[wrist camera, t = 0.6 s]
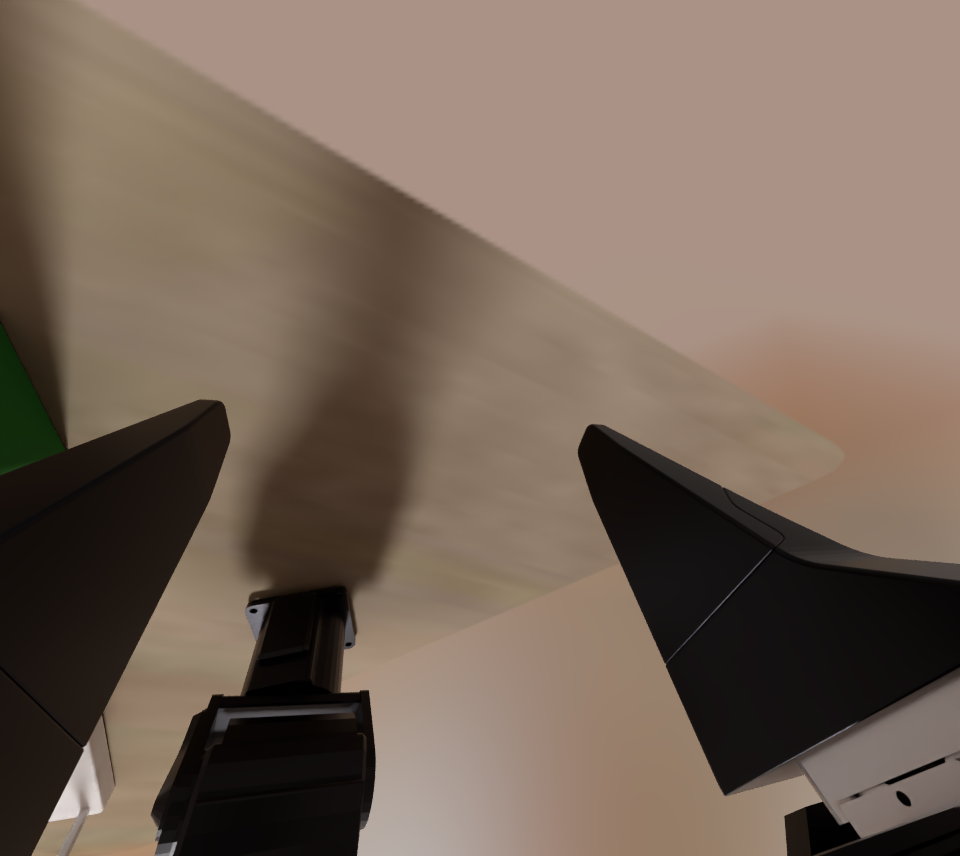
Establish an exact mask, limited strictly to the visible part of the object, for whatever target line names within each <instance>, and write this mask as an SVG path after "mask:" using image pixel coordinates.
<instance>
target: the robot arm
mask: <svg viewBox="0 0 960 856" xmlns="http://www.w3.org/2000/svg"><path fill="white" fill-rule="evenodd" d="M229 443H230V428H229V424H228V419H227V414H226V409H225V406H224V404H223V403H222V402H221V401H218V400H197V401H194V402H192V403H189V404H186V405H184V406H181V407H178V408H176V409H173V410H170V411H168V412H165V413H163V414H160V415H157V416H155V417H152V418H149V419H147V420H144V421H141V422H139V423H136V424H134V425H131V426H128V427H126V428H123V429H120V430H118V431H115V432H113V433H110V434H107V435H105V436H102V437H99V438H97V439H94V440H91V441H89V442H86V443H84V444H81V445H78V446H76V447H73V448H70V449H68V450H65V451H62V452H60V453H57V454H55V455H52V456H49V457H47V458H44V459H41V460H39V461H36V462H33V463H31V464H28V465H26V466H23V467H20V468H18V469H15V470H12V471H10V472H7V473H4V474H2V475H0V856H31V855H32V853H33V851H34V849H35V847H36V845H37V843H38V841H39V839H40V837H41V835H42V833H43V831H44V829H45V827H46V825H47V823H48V821H49V819H50V817H51V815H52V813H53V811H54V809H55V807H56V805H57V803H58V801H59V800H60V798H61V796H62V794H63V792H64V790H65V788H66V786H67V784H68V782H69V780H70V778H71V776H72V774H73V772H74V770H75V768H76V766H77V764H78V762H79V760H80V758H81V756H82V754H83V752H84V749H83V747H85V746H86V745H87V743H88V741H89V739H90V737H91V735H92V733H93V731H94V729H95V727H96V725H97V723H98V721H99V719H100V717H101V715H102V713H103V711H104V709H105V707H106V705H107V703H108V701H109V699H110V697H111V695H112V693H113V692H114V690H115V688H116V686H117V684H118V682H119V680H120V678H121V676H122V674H123V672H124V670H125V668H126V666H127V664H128V662H129V660H130V658H131V656H132V654H133V652H134V650H135V648H136V646H137V644H138V642H139V640H140V638H141V636H142V634H143V632H144V630H145V628H146V626H147V624H148V622H149V620H150V618H151V616H152V614H153V612H154V610H155V608H156V606H157V604H158V602H159V600H160V598H161V596H162V594H163V592H164V590H165V588H166V586H167V584H168V582H169V580H170V578H171V576H172V574H173V572H174V570H175V568H176V566H177V565H178V563H179V561H180V559H181V557H182V555H183V553H184V551H185V549H186V547H187V545H188V543H189V541H190V539H191V537H192V535H193V533H194V531H195V529H196V527H197V525H198V523H199V521H200V519H201V517H202V515H203V513H204V511H205V509H206V507H207V505H208V502H209V500H210V498H211V495H212V493H213V490H214V487H215V484H216V481H217V478H218V475H219V472H220V469H221V467H222V464H223V461H224V458H225V455H226V452H227V449H228V446H229ZM578 457H579V460H580V463H581V466H582V469H583V472H584V476H585V479H586V482H587V485H588V488H589V491H590V494H591V497H592V500H593V502H594V505H595V507H596V509H597V512H598V514H599V516H600V518H601V521H602V523H603V525H604V527H605V530H606V532H607V534H608V537H609V539H610V541H611V543H612V546H613V548H614V550H615V552H616V555H617V557H618V559H619V561H620V564H621V566H622V568H623V570H624V572H625V575H626V577H627V579H628V581H629V584H630V586H631V588H632V590H633V593H634V595H635V597H636V600H637V602H638V604H639V606H640V608H641V611H642V613H643V615H644V617H645V620H646V622H647V624H648V627H649V629H650V631H651V633H652V636H653V638H654V640H655V642H656V645H657V647H658V649H659V651H660V654H661V656H662V658H663V661H664V663H665V664H666V668H667V670H668V672H669V674H670V677H671V679H672V681H673V684H674V686H675V688H676V690H677V693H678V695H679V697H680V699H681V702H682V704H683V706H684V708H685V711H686V713H687V715H688V718H689V720H690V722H691V724H692V726H693V729H694V731H695V733H696V736H697V738H698V740H699V742H700V744H701V747H702V749H703V751H704V754H705V756H706V758H707V760H708V763H709V765H710V767H711V769H712V772H713V774H714V776H715V778H716V781H717V783H718V785H719V787H720V789H721V790H722V792H723V794H724V795H725V796H729V795H732V794H736V793H740V792H743V791H747V790H750V789H754V788H758V787H762V786H765V785H769V784H772V783H776V782H780V781H783V780H787V779H791V778H794V777H798V776H801V775H805V776H806V778H807V779H808V781H809V782H810V783H811V785H812V786H813V788H814V789H815V791H816V792H817V794H818V795H819V797H820V798H821V799H822V801H823V802H820V803H817V804H814V805H810V806H808V807H804V808H802V809H800V810H797V811H795V812H793V813H791V814H788V815H786V816H785V829H786V843H787V856H960V564H953V563H941V562H929V561H918V560H905V559H894V558H885V557H879V556H874V555H870V554H867V553H863V552H860V551H857V550H854V549H851V548H849V547H847V546H844V545H842V544H840V543H837V542H835V541H833V540H831V539H829V538H827V537H825V536H823V535H821V534H818V533H816V532H814V531H812V530H810V529H808V528H806V527H804V526H801V525H799V524H797V523H795V522H793V521H791V520H789V519H786V518H784V517H782V516H780V515H778V514H776V513H774V512H772V511H770V510H768V509H766V508H764V507H762V506H760V505H758V504H756V503H754V502H752V501H750V500H748V499H746V498H744V497H742V496H740V495H738V494H736V493H734V492H732V491H730V490H728V489H726V488H722V487H721V486H720V485H719V484H717V483H715V482H713V481H711V480H709V479H707V478H705V477H703V476H701V475H699V474H697V473H695V472H693V471H692V470H690V469H688V468H686V467H684V466H682V465H680V464H678V463H676V462H674V461H672V460H670V459H668V458H666V457H664V456H663V455H661V454H659V453H657V452H655V451H653V450H651V449H649V448H647V447H645V446H643V445H641V444H639V443H637V442H636V441H634V440H632V439H630V438H628V437H626V436H624V435H622V434H620V433H618V432H616V431H614V430H612V429H610V428H609V427H607V426H605V425H598V424H591V425H589V426H588V427H587V428H586V430H585V433H584V435H583V438H582V440H581V442H580V445H579V448H578ZM339 593H341V594H339ZM245 613H246V615H247V618H248V621H249V624H250V626H251V629H252V632H253V635H254V637H255V640H256V645H255V649H254V652H253V655H252V659H251V662H250V665H249V669H248V672H247V676H246V679H245V682H244V686H243V689H242V692H241V696H223V695H224V694H218V695H212V698H211V700H210V703H209V705H208V708H207V709H205V710H203V711H202V712H200V713H198V714H196V715H194V716H193V718H192V721H191V723H190V726H189V728H188V731H187V734H186V736H185V739H184V741H183V744H182V746H181V749H180V751H179V753H178V755H177V758H176V760H175V762H174V764H173V766H172V768H171V770H170V772H169V774H168V776H167V778H166V780H165V782H164V784H163V786H162V788H161V790H160V792H159V794H158V796H157V798H156V801H155V803H154V806H153V809H152V812H151V817H152V819H153V821H154V822H155V824H156V826H157V828H158V831H157V835H156V840H155V841H159V842H158V845H157V849H156V852H155V856H357V850H358V841H359V831H360V830H361V829H363V828H364V827H365V825H366V823H367V821H368V817H369V814H370V809H371V804H372V799H373V792H374V782H375V763H376V762H375V761H376V757H375V744H374V734H373V725H372V715H371V706H370V697H369V690H362V691H360V692H350V693H341V680H342V667H343V654H344V649H349V648H352V647H353V646H354V645H355V633H354V627H353V622H352V616H351V610H350V604H349V599H348V593H347V589H346V588H345V587H342V586H339V587H333V588H327V589H321V590H315V591H309V592H303V593H297V594H292V595H286V596H280V597H274V598H268V599H262V600H256V601H252V602H250V603H248V605H247V607H246V610H245Z"/></svg>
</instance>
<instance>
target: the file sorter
mask: <svg viewBox="0 0 960 856" xmlns="http://www.w3.org/2000/svg"><path fill="white" fill-rule="evenodd" d="M83 749H84V752H83V754H82V756H81V758H80V760H79V762H78V764H77V766H76V768H75V770H74V772H73V774H72V776H71V778H70V780H69V782H68V784H67V786H66V788H65V790H64V792H63V794H62V796H61V798H60V800H59V801H58V803H57V805H56V807H55V809H54V811H53V813H52V815H51V817H50V819H49V821H48V822H51V821H57V820H63V819H68V818H74V817H77V818H76V820H75V822H74V824H73V826H72V828H71V830H70V832H69V834H68V835H67V837H66V839H65V841H64V843H63V845H62V847H61V849H60V851H59V853H58V855H57V856H69V853H70V851H71V849H72V847H73V845H74V843H75V841H76V839H77V837H78V835H79V833H80V830H81V828H82V826H83V824H84V822H85V820H86V818H87V816H88V815H93V814H98V813H101V812H102V811H103V810H104V808H105V806H106V804H107V802H108V800H109V798H110V796H111V794H112V792H113V790H114V788H115V784H114V779H113V773H112V768H111V762H110V757H109V751H108V745H107V740H106V735H105V729H104V724H103V718H102V715H101V717H100V719H99V721H98V723H97V725H96V727H95V729H94V731H93V733H92V735H91V737H90V739H89V741H88V743H87V745H86V746H85V747H83Z"/></svg>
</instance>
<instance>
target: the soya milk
mask: <svg viewBox="0 0 960 856" xmlns="http://www.w3.org/2000/svg"><path fill="white" fill-rule="evenodd" d="M62 451H65V448H64V446H63V444H62V442H61V440H60V438H59V436H58V434H57V432H56V430H55V428H54V426H53V424H52V422H51V420H50V418H49V416H48V414H47V413H46V411H45V409H44V407H43V405H42V403H41V401H40V399H39V397H38V395H37V393H36V391H35V389H34V387H33V385H32V383H31V381H30V379H29V377H28V376H27V374H26V372H25V370H24V368H23V366H22V364H21V362H20V360H19V358H18V356H17V354H16V352H15V350H14V348H13V346H12V344H11V342H10V340H9V339H8V337H7V335H6V333H5V331H4V329H3V327H2V325H1V323H0V475H2V474H4V473H7V472H10V471H12V470H15V469H18V468H20V467H23V466H26V465H28V464H31V463H33V462H36V461H39V460H41V459H44V458H47V457H49V456H52V455H55V454H57V453H60V452H62Z"/></svg>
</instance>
